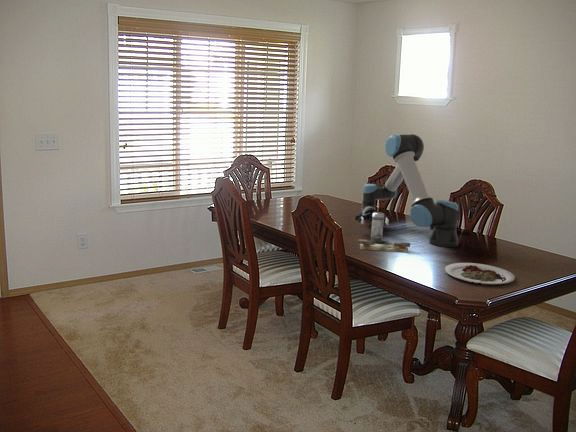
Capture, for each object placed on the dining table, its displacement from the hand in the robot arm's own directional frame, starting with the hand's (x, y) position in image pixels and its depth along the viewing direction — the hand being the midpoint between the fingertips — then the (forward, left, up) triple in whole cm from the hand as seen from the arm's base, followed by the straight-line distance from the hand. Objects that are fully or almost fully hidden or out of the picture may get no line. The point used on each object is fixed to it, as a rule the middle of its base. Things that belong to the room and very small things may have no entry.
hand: (375, 222), depth 333 cm
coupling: (-2, +5, -9) cm, 10 cm away
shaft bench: (-9, +20, -9) cm, 24 cm away
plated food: (-57, +45, -9) cm, 73 cm away
